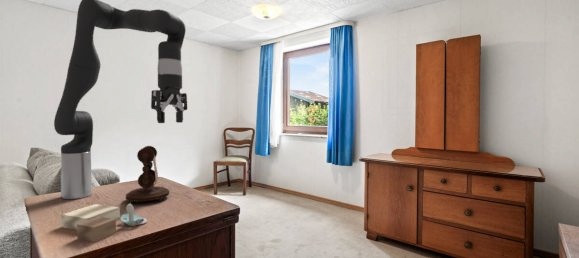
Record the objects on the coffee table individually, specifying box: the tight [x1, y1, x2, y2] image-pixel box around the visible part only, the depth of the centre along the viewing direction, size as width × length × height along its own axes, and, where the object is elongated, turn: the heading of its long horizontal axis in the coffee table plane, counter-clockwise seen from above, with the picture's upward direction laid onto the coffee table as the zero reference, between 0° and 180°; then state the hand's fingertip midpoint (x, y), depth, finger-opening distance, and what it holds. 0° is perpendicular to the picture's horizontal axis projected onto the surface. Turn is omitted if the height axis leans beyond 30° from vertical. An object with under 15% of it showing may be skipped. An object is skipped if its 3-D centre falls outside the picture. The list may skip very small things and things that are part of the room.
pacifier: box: [120, 203, 148, 227], centre depth 83 cm, size 7×6×6 cm
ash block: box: [61, 203, 121, 231], centre depth 83 cm, size 10×10×4 cm
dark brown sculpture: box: [125, 145, 170, 205], centre depth 106 cm, size 15×15×20 cm
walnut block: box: [76, 216, 117, 243], centre depth 74 cm, size 6×6×4 cm
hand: (170, 122), depth 95 cm, fingers open, 8 cm apart
